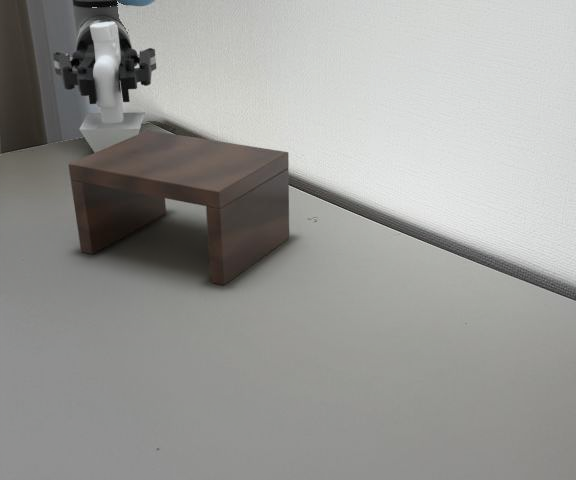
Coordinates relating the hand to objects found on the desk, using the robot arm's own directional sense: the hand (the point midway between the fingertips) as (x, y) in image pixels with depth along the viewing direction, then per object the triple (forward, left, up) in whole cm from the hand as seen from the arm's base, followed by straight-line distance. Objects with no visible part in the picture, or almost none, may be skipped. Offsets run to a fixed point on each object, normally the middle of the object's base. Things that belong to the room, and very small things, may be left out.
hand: (108, 91), depth 100 cm
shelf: (+22, -17, -9) cm, 29 cm away
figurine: (-3, +4, -9) cm, 10 cm away
